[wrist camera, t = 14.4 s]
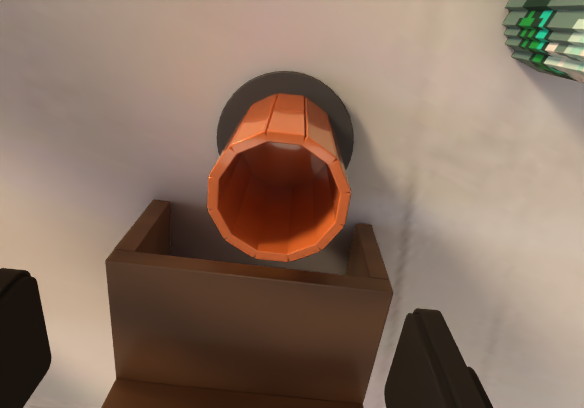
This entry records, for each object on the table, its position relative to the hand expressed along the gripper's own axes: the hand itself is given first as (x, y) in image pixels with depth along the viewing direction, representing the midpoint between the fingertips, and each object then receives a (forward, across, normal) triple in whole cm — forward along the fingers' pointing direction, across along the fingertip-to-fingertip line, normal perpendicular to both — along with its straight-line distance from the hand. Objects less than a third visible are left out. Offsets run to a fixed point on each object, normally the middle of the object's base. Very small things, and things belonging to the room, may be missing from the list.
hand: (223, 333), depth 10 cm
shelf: (+18, 0, +11) cm, 21 cm away
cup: (+18, -1, 0) cm, 18 cm away
